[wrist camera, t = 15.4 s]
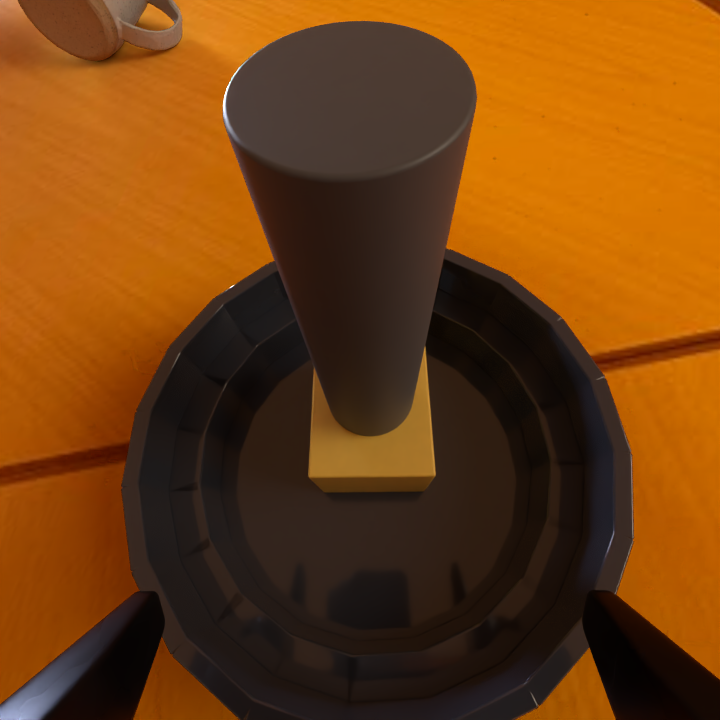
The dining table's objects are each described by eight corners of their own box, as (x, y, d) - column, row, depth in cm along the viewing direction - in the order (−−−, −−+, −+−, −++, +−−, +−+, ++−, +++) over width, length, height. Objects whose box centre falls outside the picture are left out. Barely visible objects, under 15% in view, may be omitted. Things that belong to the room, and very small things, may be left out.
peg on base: (424, 491, 17) (588, 275, 4) (322, 492, 17) (113, 291, 4) (416, 365, 20) (490, -38, 6) (327, 367, 20) (212, -20, 6)
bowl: (651, 485, 17) (745, 462, 13) (342, 826, 13) (321, 969, 9) (390, 252, 24) (392, 182, 19) (125, 437, 19) (48, 403, 15)
